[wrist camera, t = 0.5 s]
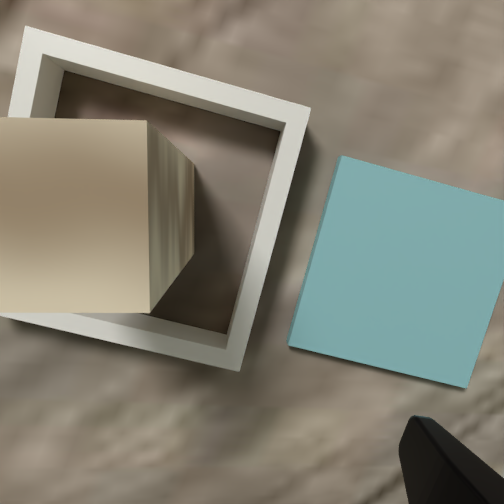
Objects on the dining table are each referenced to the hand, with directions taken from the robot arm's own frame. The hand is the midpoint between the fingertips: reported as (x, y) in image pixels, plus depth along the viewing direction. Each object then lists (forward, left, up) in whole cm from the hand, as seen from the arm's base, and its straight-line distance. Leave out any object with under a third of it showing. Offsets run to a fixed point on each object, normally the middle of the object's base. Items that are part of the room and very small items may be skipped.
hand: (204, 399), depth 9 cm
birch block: (+3, +5, -15) cm, 16 cm away
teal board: (+3, -10, -15) cm, 18 cm away
